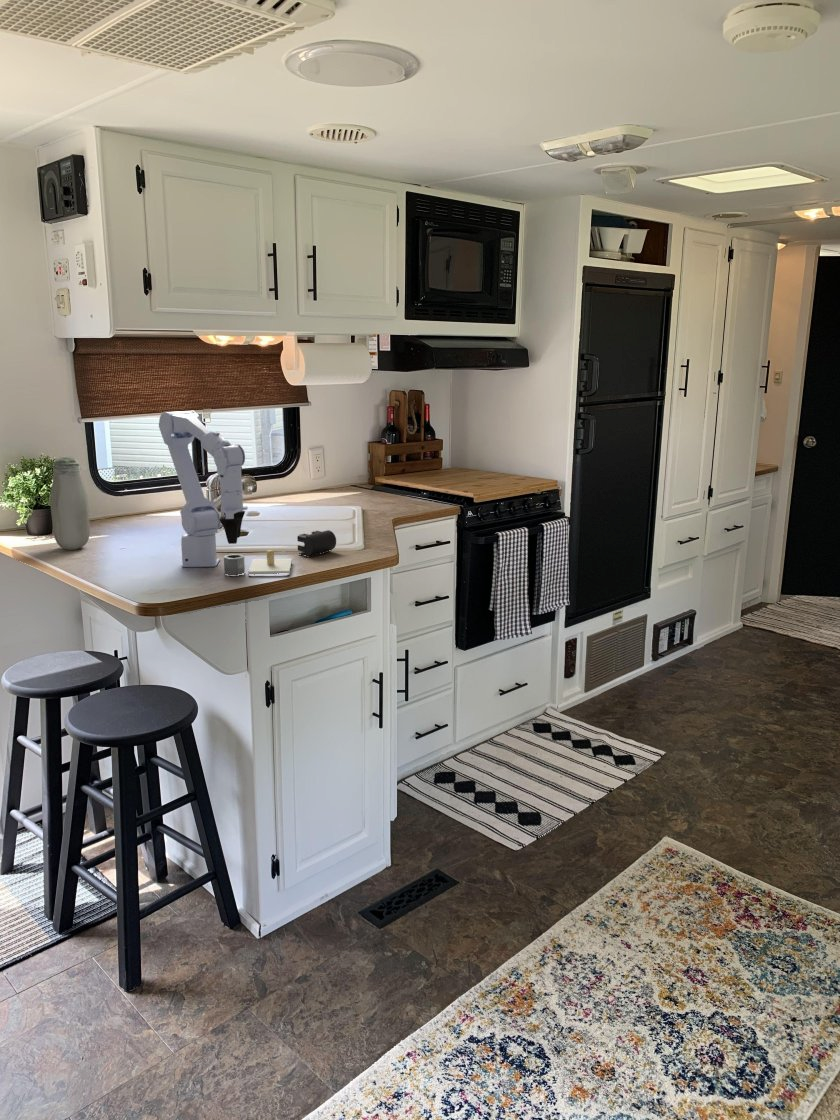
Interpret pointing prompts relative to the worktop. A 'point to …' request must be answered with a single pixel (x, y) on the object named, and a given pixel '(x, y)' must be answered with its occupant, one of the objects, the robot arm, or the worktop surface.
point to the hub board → (270, 565)
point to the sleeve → (234, 564)
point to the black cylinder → (316, 542)
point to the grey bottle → (69, 505)
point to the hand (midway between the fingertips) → (234, 540)
